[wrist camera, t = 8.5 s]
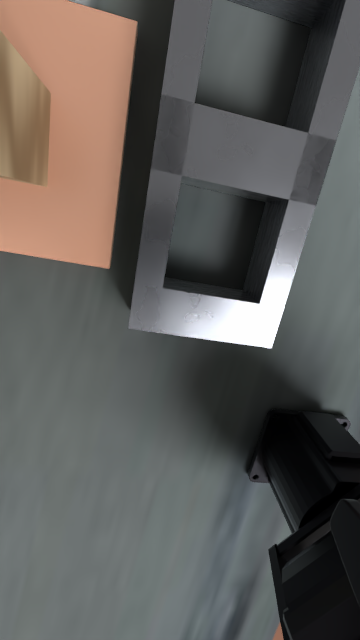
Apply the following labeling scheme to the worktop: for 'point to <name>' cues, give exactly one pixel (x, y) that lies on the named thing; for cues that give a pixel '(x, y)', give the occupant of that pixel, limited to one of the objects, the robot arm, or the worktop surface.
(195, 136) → the grey slotted holder
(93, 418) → the worktop surface
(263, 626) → the worktop surface
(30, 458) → the worktop surface
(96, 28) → the terracotta tile
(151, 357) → the worktop surface
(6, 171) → the maple peg
